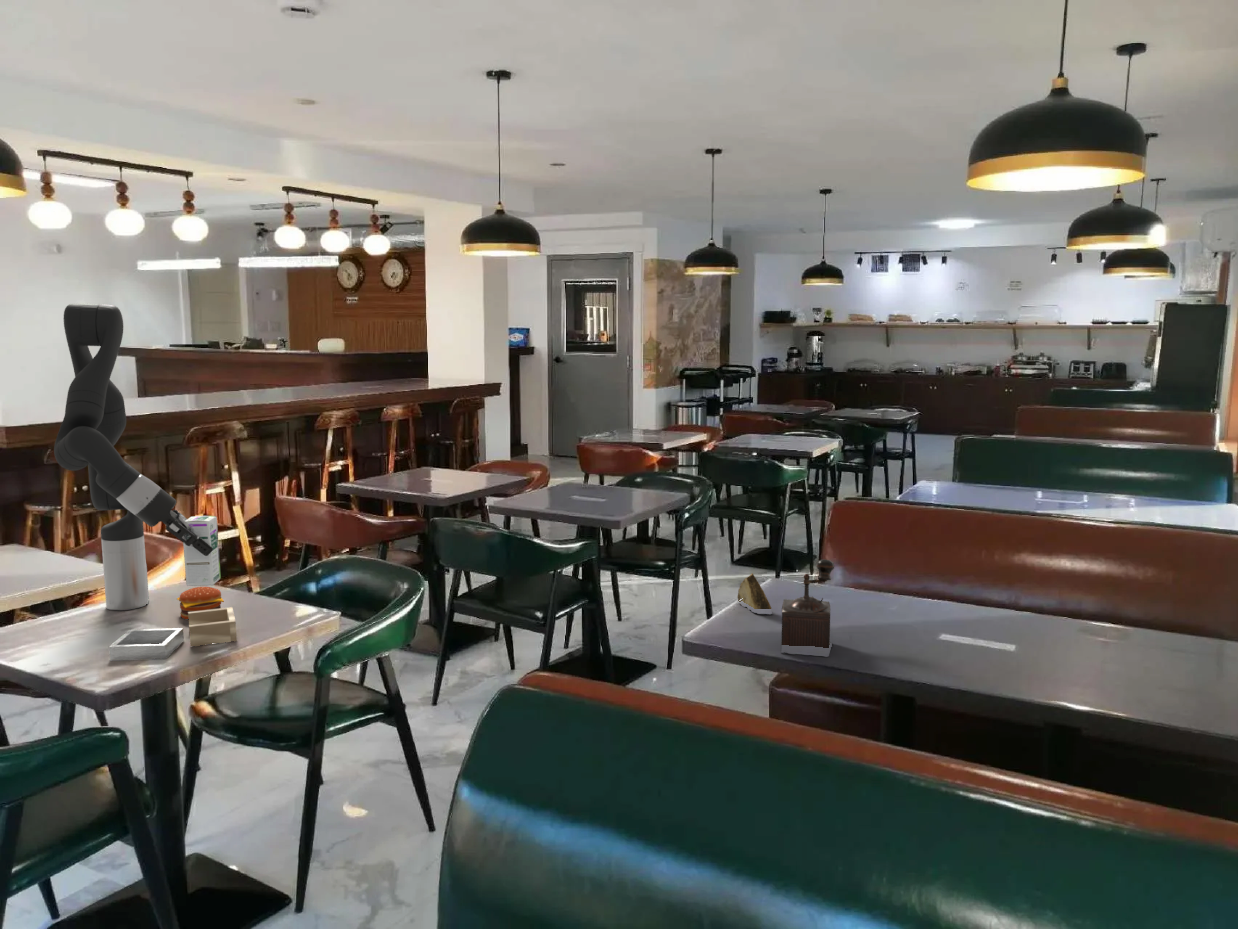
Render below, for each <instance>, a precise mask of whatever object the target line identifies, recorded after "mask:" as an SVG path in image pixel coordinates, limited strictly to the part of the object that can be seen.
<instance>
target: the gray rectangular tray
mask: <svg viewBox="0 0 1238 929" xmlns="http://www.w3.org/2000/svg"><path fill="white" fill-rule="evenodd" d="M184 638H185V635H184V627H180V628H179V627H177V628H175V627H173V628H172V627H171V628H170V627H168V628H140V629H139V628H137V629H136V628H135V629H129V630H128V631H127V632H125V633H124V634H123V635H122V636H119V638H118V639H116V640H115V641H114V642H113V643H111V644H110V645H109V646H108V656H109V661H110V662H113V661H141V660H140V659H152V660H166V659H167V658H169V656H171V655H172V654H173V653H174V652H175V651H176V650H177V649H178V648H179V647H180V646H181V645H182V644H183V643H184V642H183V641H185V639H184ZM182 642H183V643H182ZM151 643H159V644H151ZM181 643H182V644H181ZM180 644H181V645H180ZM179 645H180V646H179ZM178 646H179V647H178ZM177 647H178V648H177ZM176 648H177V649H176ZM175 649H176V650H175ZM174 650H175V651H174ZM173 651H174V652H173ZM172 652H173V653H172ZM171 653H172V654H171Z"/></svg>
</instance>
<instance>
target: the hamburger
mask: <svg viewBox="0 0 1238 929" xmlns="http://www.w3.org/2000/svg"><path fill="white" fill-rule="evenodd" d="M176 600H177V601H179V602H180V603H179V608H180V612H179V613H180V614H179V615H180V618H181V617H182V618H181V619H183V618H184V619H183V620H185V619H189V617H188V612H194V611H202V610H211V609H220V608H222V607H221V604H222V603H224V602H225V601H224V599H223V598H222V592H221V591H220V590H219V589H218V588H215V587H213V586H212V587H211V586H194V587H192V588H190V589H186V590H184V591H183V592H181V593H180V594H179V597H177V598H176Z"/></svg>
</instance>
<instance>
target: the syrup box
mask: <svg viewBox="0 0 1238 929" xmlns="http://www.w3.org/2000/svg"><path fill="white" fill-rule="evenodd" d="M186 519H187V520H185V522H186V523H188V524H189V525H190V526H191V527H192V528H193V529H194V531H193V532H194V533H195V534H196V535H198V536H199V537H200V538H201V539H202V540H203V541H205V542H206V543H207V544H208V545H210V546H211V547H212V548H213V551H212V552H211V553H210V554H209V555H208V556H204V555H203V554H202V553H201V552H199V551H198V550H197V549H195V548H194V547H193V546H187V545H186V544H185V543H184V542H182V543H183V545H182V546H183V556H184V557H183V558H184V570H185V571H184V572H185V585H186V586H187V587H211V586H212V587H213V586H214V585H215V584H216V583H217V582H219V580H221V578H222V577H221V564H220V563H221V561H220V546H219V544H220V543H219V533H218V531H219V530H218V529H219V528H218V520H217V519H218V518H217V515H216V516H215V515H196V516H190V517H189V518H186ZM190 537H191V536H190V535H188V536H187V539H189V538H190Z"/></svg>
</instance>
